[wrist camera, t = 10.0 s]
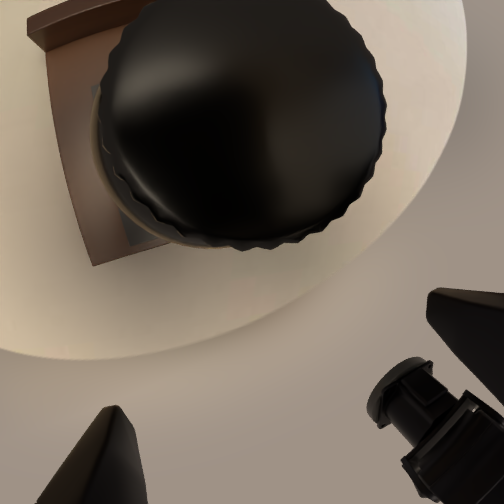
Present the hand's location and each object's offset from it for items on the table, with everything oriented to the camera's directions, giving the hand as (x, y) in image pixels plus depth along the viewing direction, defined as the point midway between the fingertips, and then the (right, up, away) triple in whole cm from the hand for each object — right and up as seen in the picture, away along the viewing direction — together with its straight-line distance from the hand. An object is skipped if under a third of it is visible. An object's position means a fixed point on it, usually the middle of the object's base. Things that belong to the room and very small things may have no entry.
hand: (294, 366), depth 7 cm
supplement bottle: (-4, +9, +8) cm, 12 cm away
